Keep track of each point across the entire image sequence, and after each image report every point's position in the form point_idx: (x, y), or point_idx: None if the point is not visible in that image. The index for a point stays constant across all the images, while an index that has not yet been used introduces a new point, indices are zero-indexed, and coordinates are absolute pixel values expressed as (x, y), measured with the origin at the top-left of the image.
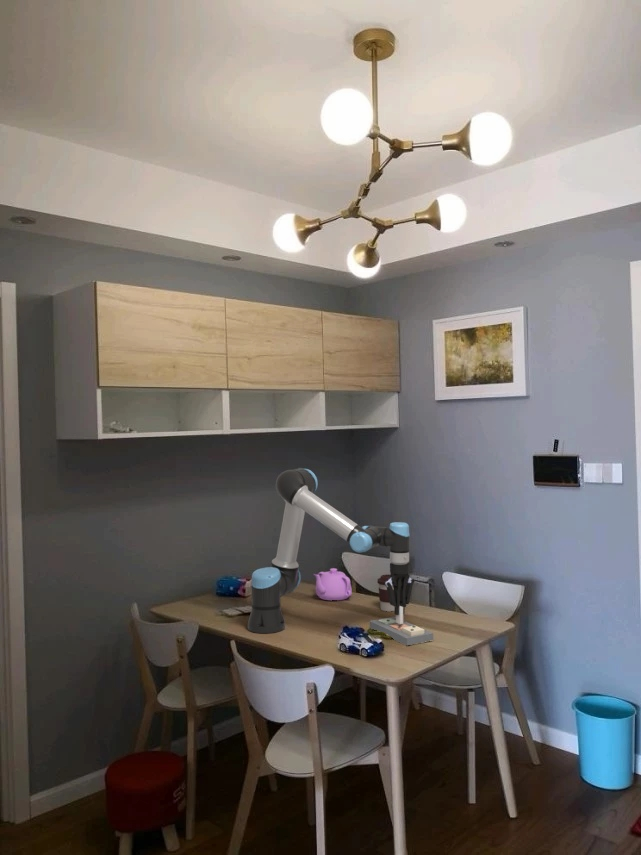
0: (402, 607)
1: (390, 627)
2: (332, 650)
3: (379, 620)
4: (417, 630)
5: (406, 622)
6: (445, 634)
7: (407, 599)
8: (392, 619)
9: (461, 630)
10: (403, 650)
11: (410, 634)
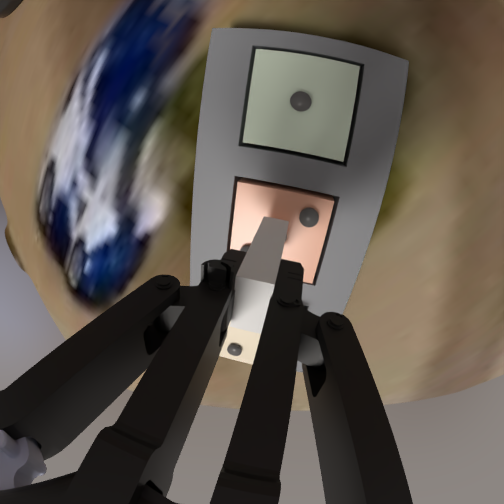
0: (257, 330)
1: (224, 204)
2: (27, 201)
3: (259, 61)
4: (252, 361)
5: (373, 200)
6: (414, 334)
7: (309, 391)
8: (347, 99)
9: (476, 334)
10: None
11: None
